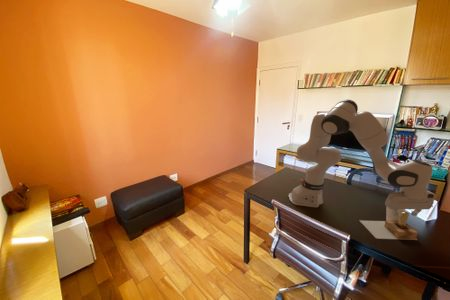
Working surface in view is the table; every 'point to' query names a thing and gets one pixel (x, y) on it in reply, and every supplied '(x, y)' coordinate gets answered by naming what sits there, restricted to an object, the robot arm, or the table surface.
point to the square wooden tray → (400, 230)
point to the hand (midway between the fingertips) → (404, 215)
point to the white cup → (390, 215)
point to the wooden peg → (403, 220)
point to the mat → (379, 230)
